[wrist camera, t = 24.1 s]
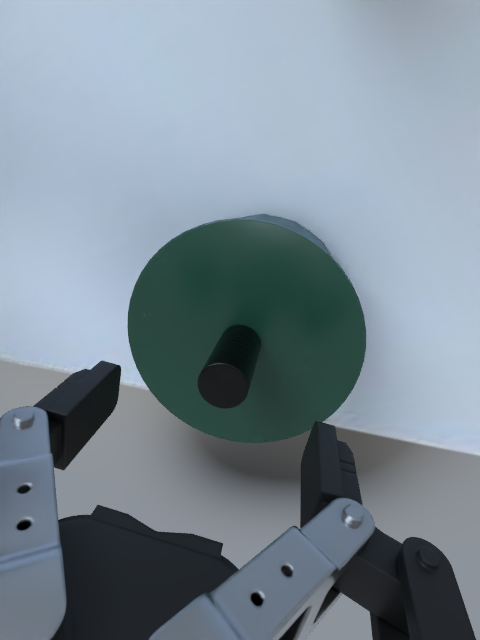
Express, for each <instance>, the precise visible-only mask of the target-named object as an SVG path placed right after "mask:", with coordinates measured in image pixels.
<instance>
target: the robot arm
mask: <svg viewBox="0 0 480 640" xmlns="http://www.w3.org/2000/svg"><path fill="white" fill-rule="evenodd" d="M120 376H121V367H120V366H119V365H116V364H112V363H109V362H105V361H100V362H99V363H98V364H97V365H96V366H94V367H93V368H92V369H91V370H88V369H84V370H81V371H78V372H76V373H73V374H72V375H71V376H69V377H68V378H67V379H66V380H65V381H64V382H63V383H61V384H60V385H59V386H58V387H57V388H55V389H54V390H53V391H52V392H50V393H49V394H48V395H47V396H45V397H44V398H43V399H41V400H40V401H39V402H38V403H37V404H35V405H34V406H33V407H30V406H26V407H19V408H15V409H12V410H10V411H8V412H7V413H5V414H4V415H3V416H2V417H1V418H0V640H306V639H307V637H308V636H309V634H310V633H311V632H312V630H313V629H314V628H315V627H316V626H317V624H318V623H319V622H320V621H321V620H322V618H323V617H324V616H325V615H326V613H327V612H328V611H329V610H330V609H331V607H332V606H333V605H334V604H335V602H336V601H337V600H338V599H339V598H340V596H341V595H342V594H344V595H346V596H348V597H349V598H350V599H352V600H353V601H355V602H357V603H358V604H359V605H361V606H362V607H364V608H365V609H367V610H368V611H370V616H371V627H372V637H373V640H476V638H475V636H474V632H473V629H472V626H471V623H470V620H469V618H468V614H467V611H466V608H465V605H464V602H463V599H462V596H461V593H460V590H459V587H458V584H457V581H456V578H455V575H454V572H453V569H452V566H451V564H450V563H449V561H448V559H447V558H446V556H445V555H444V554H443V553H442V552H441V551H440V550H439V549H438V548H437V547H436V546H434V545H433V544H431V543H430V542H428V541H426V540H424V539H421V538H417V537H410V538H407V539H406V540H405V541H404V542H403V544H401V543H400V542H398V541H396V540H394V539H393V538H391V537H389V536H388V535H386V534H384V533H383V532H381V531H380V530H379V529H377V528H376V527H375V523H374V520H373V517H372V516H371V514H370V513H369V511H368V510H367V509H366V508H365V507H364V506H363V505H362V500H361V495H360V489H359V484H358V479H357V475H356V468H355V462H354V457H353V453H352V452H351V450H350V448H349V447H348V445H347V444H346V443H345V442H341V441H338V440H337V437H336V429H335V426H333V425H329V424H326V423H322V422H318V421H315V423H314V425H313V428H312V430H311V433H310V436H309V439H308V442H307V444H306V447H305V450H304V453H303V457H302V462H301V523H300V524H301V525H300V527H301V528H300V529H298V528H297V527H296V526H292V527H290V528H289V529H288V530H287V531H285V532H284V533H283V534H282V535H281V536H279V537H278V538H277V539H276V540H274V541H273V542H272V543H271V544H270V545H268V546H267V547H266V548H265V549H264V550H262V551H261V552H260V553H259V554H257V555H256V556H255V557H254V558H253V559H251V560H250V561H249V562H248V563H247V564H246V565H244V566H243V567H242V568H241V569H238V568H237V567H236V566H234V564H232V563H231V562H230V561H229V560H228V559H226V558H225V557H223V556H222V555H221V551H222V546H223V543H220V542H217V541H213V540H210V539H207V538H204V537H200V536H197V535H194V534H187V533H186V534H185V533H169V532H157V531H154V530H153V529H151V528H149V527H148V526H146V525H145V524H143V523H141V522H140V521H138V520H137V519H135V518H133V517H132V516H130V515H129V514H126V513H122V512H119V511H116V510H113V509H110V508H106V507H103V506H100V505H97V507H96V508H95V510H94V511H93V513H92V514H91V515H78V516H71V517H67V518H63V519H60V520H58V513H57V501H56V490H55V489H56V488H55V477H54V467H55V468H58V469H61V470H65V468H66V467H67V466H68V465H69V464H70V462H71V461H72V460H73V459H74V458H75V456H76V455H77V454H78V453H79V452H80V450H81V449H82V448H83V447H84V446H85V444H86V443H87V442H88V441H89V440H90V438H91V437H92V436H93V435H94V434H95V432H96V431H97V430H98V429H99V428H100V426H101V425H102V424H103V423H104V422H105V421H106V419H107V418H108V417H109V416H110V415H111V413H112V412H113V410H114V408H115V406H116V404H117V401H118V394H119V385H120Z"/></svg>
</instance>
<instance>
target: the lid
mask: <svg viewBox="0 0 480 640" xmlns="http://www.w3.org/2000/svg"><path fill="white" fill-rule="evenodd" d="M128 336H129V343H130V348H131V352H132V356H133V358H134V361H135V364H136V367H137V369H138V371H139V373H140V375H141V377H142V379H143V380H144V382H145V383H146V385H147V386H148V388H149V389H150V391H151V392H152V393H153V395H154V396H155V397H156V398H157V399H158V400H159V402H160V403H161V404H162V405H163V406H165V407H166V408H167V409H168V410H169V411H170V412H171V413H172V414H174V415H175V416H177V417H178V418H179V419H181V420H182V421H183V422H185V423H187V424H188V425H190V426H192V427H193V428H196V429H198V430H200V431H202V432H204V433H206V434H209V435H212V436H215V437H218V438H222V439H226V440H231V441H237V442H245V443H263V442H273V441H278V440H283V439H288V438H291V437H293V436H296V435H299V434H302V433H304V432H306V431H308V430H310V429H312V428H313V425H314V423H315V421H318V422H323V421H325V420H326V419H327V418H328V417H329V416H331V415H332V414H333V413H334V412H335V411H336V410H337V409H338V408H339V407H340V406H341V405H342V403H343V402H344V401H345V400H346V398H347V397H348V395H349V394H350V392H351V391H352V389H353V388H354V386H355V383H356V381H357V379H358V377H359V375H360V372H361V368H362V365H363V362H364V356H365V349H366V327H365V321H364V314H363V311H362V308H361V305H360V301H359V298H358V296H357V294H356V292H355V290H354V288H353V286H352V283H351V281H350V280H349V278H348V277H347V275H346V274H345V272H344V271H343V269H342V268H341V267H340V266H339V264H338V263H337V262H336V261H335V260H334V259H333V258H332V257H331V255H330V254H328V253H327V252H326V251H325V250H324V249H323V248H321V247H320V246H319V245H318V244H317V243H315V242H313V241H312V240H310V239H309V238H307V237H306V236H304V235H303V234H301V233H298V232H296V231H294V230H292V229H290V228H288V227H285V226H282V225H279V224H275V223H272V222H268V221H262V220H256V219H239V218H235V219H225V220H218V221H214V222H210V223H206V224H202V225H200V226H197V227H195V228H192V229H190V230H188V231H185V232H184V233H182V234H180V235H179V236H177V237H175V238H173V239H172V240H171V241H169V242H168V243H167V244H166V245H164V246H163V247H162V248H161V249H160V250H159V251H158V252H157V253H156V254H155V255H154V256H153V257H152V258H151V259H150V260H149V262H148V263H147V265H146V266H145V268H144V269H143V271H142V272H141V274H140V276H139V278H138V280H137V282H136V284H135V287H134V290H133V293H132V296H131V299H130V305H129V311H128Z"/></svg>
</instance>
